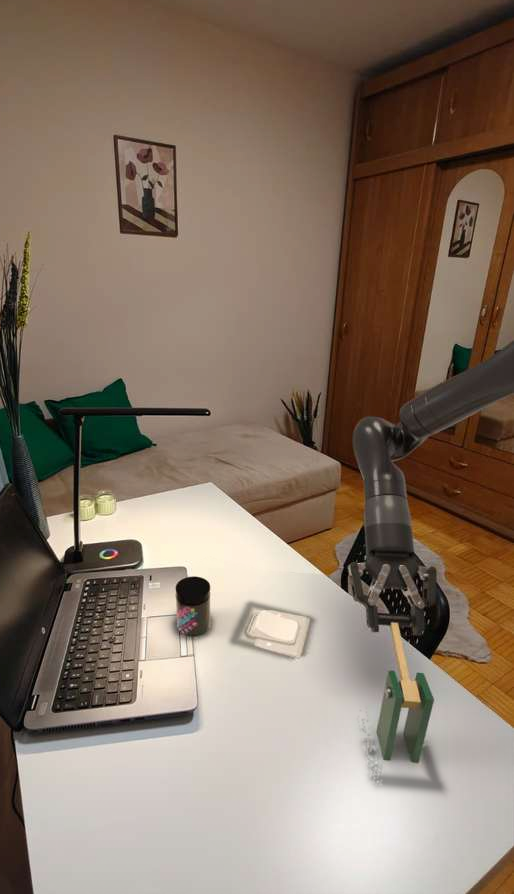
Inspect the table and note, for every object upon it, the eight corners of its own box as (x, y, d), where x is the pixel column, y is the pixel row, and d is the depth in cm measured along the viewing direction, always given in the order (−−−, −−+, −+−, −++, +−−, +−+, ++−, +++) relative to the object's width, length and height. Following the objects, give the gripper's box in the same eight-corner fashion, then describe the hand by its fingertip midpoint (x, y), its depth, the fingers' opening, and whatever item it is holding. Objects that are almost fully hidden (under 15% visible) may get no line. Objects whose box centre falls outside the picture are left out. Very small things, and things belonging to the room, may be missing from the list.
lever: (374, 617, 71) (377, 609, 70) (405, 619, 71) (409, 611, 70) (390, 706, 62) (394, 700, 60) (426, 709, 61) (431, 703, 60)
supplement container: (175, 620, 91) (173, 578, 87) (207, 615, 92) (207, 574, 89) (178, 644, 85) (177, 601, 81) (213, 639, 86) (213, 596, 82)
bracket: (361, 719, 71) (372, 654, 66) (412, 723, 70) (427, 657, 65) (375, 786, 62) (390, 715, 57) (434, 791, 61) (454, 720, 56)
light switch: (250, 596, 93) (310, 607, 89) (250, 612, 94) (310, 624, 90) (233, 632, 83) (300, 646, 79) (234, 649, 85) (300, 664, 81)
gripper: (349, 518, 72) (354, 629, 65) (439, 523, 71) (454, 636, 64) (340, 529, 79) (344, 631, 72) (423, 534, 78) (435, 637, 71)
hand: (396, 633), depth 68 cm, fingers open, 6 cm apart
